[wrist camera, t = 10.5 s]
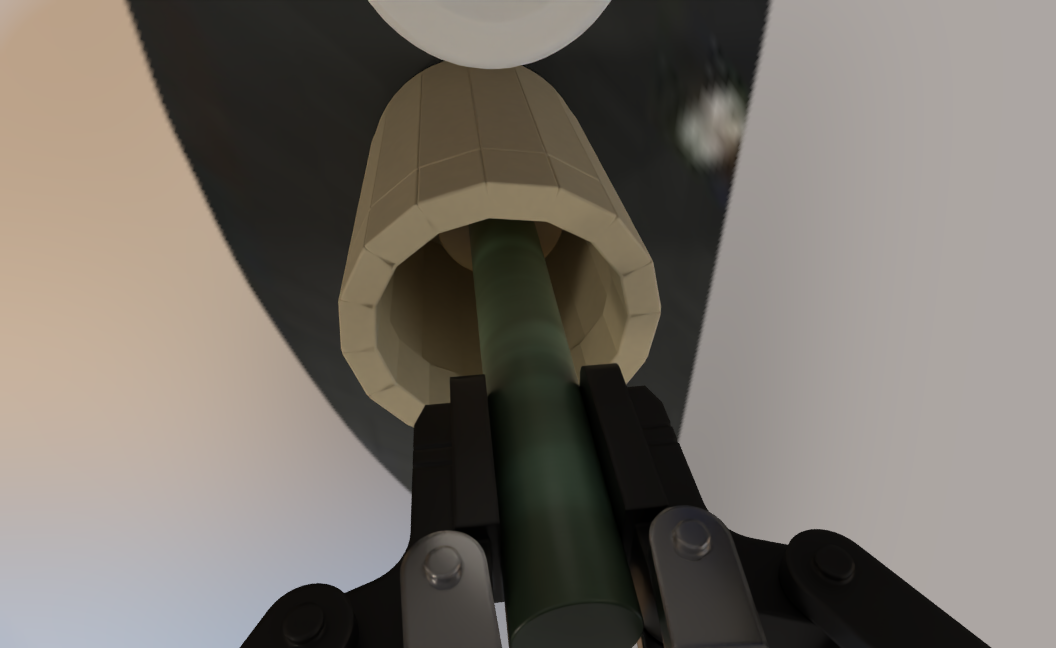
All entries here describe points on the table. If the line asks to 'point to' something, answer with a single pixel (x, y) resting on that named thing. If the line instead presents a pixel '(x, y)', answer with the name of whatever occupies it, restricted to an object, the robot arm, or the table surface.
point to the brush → (543, 451)
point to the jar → (474, 195)
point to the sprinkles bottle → (490, 28)
